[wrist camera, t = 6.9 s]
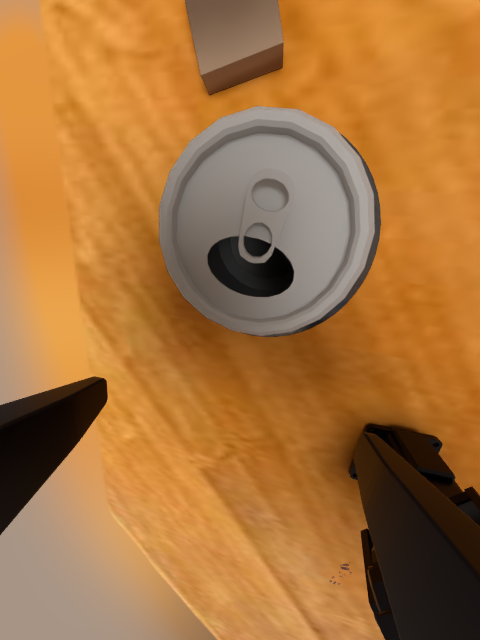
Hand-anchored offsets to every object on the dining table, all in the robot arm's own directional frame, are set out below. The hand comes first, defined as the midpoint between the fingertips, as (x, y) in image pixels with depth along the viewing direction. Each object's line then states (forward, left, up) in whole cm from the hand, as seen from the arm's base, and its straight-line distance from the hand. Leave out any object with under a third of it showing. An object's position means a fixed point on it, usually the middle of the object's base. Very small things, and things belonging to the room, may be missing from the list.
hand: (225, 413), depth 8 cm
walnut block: (+18, +4, -13) cm, 23 cm away
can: (+6, 0, -13) cm, 14 cm away
